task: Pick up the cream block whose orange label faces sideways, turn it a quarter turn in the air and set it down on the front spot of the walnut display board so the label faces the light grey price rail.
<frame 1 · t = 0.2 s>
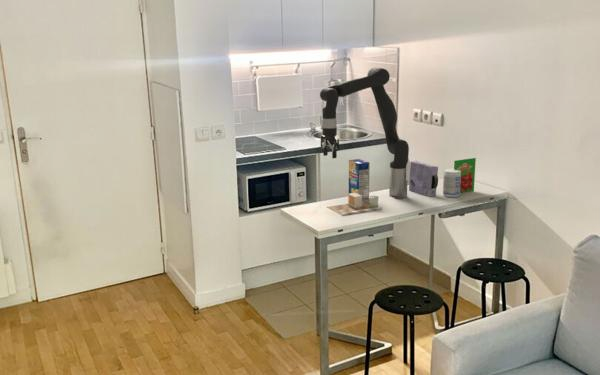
hand: (329, 156, 344), 28 cm above the breakfast bar, tool pointing down, fingers open, 8 cm apart
supplement tub: (451, 195, 371), on the breakfast bar, touching tomato puree packet
cake pan box: (423, 193, 376), on the breakfast bar
cream block: (355, 205, 350), point 1 cm above the breakfast bar, touching display board
display board: (354, 210, 346), on the breakfast bar
beverage box: (358, 199, 366), on the breakfast bar
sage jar: (373, 207, 346), point 1 cm above the breakfast bar, touching display board
tomato puree packet: (463, 193, 375), on the breakfast bar, touching supplement tub
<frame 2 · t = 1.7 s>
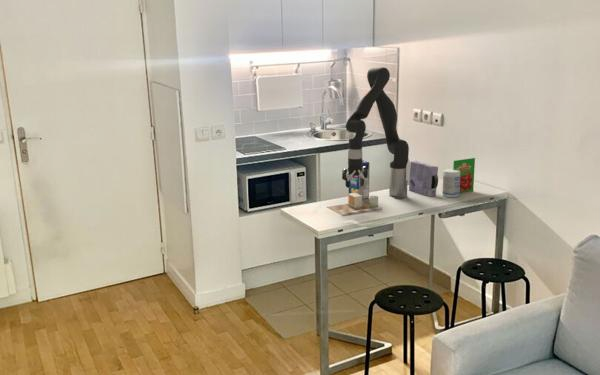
hand: (354, 186, 348), 12 cm above the breakfast bar, tool pointing down, fingers open, 8 cm apart
nothing on the breakfast bar moved.
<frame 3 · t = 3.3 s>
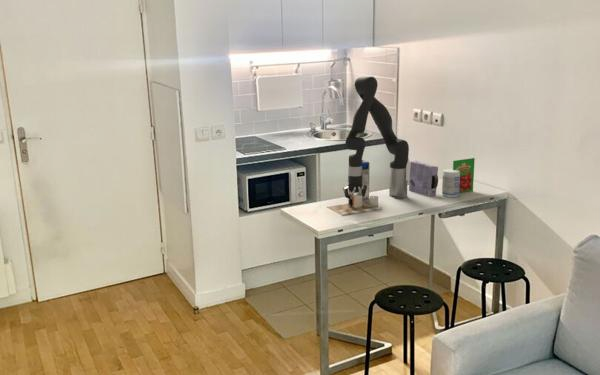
hand: (355, 204, 350), 2 cm above the breakfast bar, tool pointing down, fingers closed on cream block, 4 cm apart
supplement tub: (450, 196, 370), on the breakfast bar, touching tomato puree packet
cream block: (355, 205, 350), point 1 cm above the breakfast bar, touching display board, gripper
everything else where it was.
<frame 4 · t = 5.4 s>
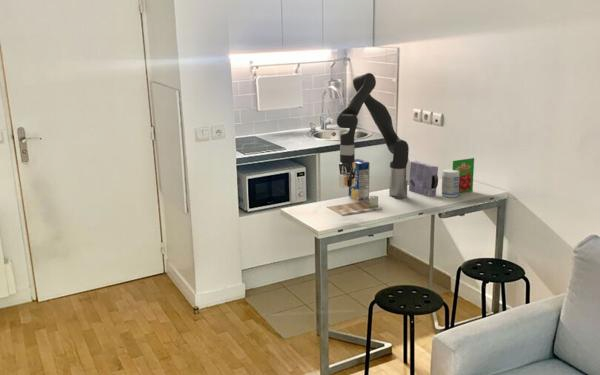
hand: (347, 185, 337), 15 cm above the breakfast bar, tool pointing down, fingers closed on cream block, 4 cm apart
cream block: (347, 186, 337), point 15 cm above the breakfast bar, touching gripper
everything else where it was.
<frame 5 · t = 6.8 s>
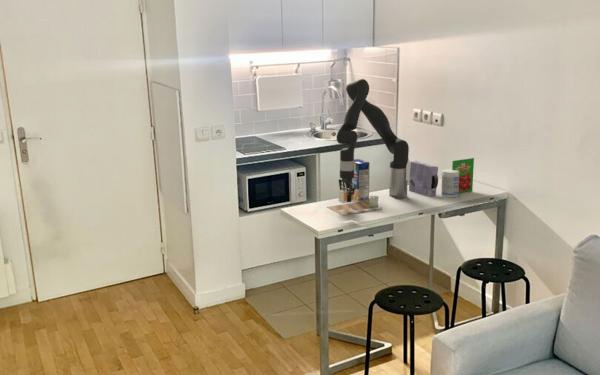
hand: (346, 200, 339), 7 cm above the breakfast bar, tool pointing down, fingers closed on cream block, 4 cm apart
cream block: (346, 201, 339), point 6 cm above the breakfast bar, touching gripper
when the fingers open (3 cm above the breakfast bar, at t = 8.0 s): cream block stays where it is, resting on display board.
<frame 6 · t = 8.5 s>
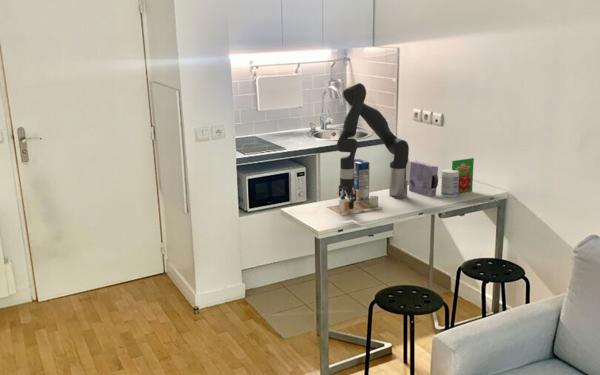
hand: (347, 206, 340), 4 cm above the breakfast bar, tool pointing down, fingers open, 8 cm apart
cream block: (347, 210, 341), point 1 cm above the breakfast bar, touching display board
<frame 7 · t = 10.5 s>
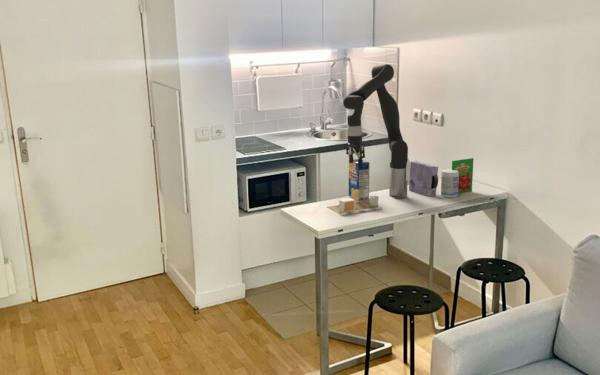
hand: (355, 164, 342), 24 cm above the breakfast bar, tool pointing down, fingers open, 8 cm apart
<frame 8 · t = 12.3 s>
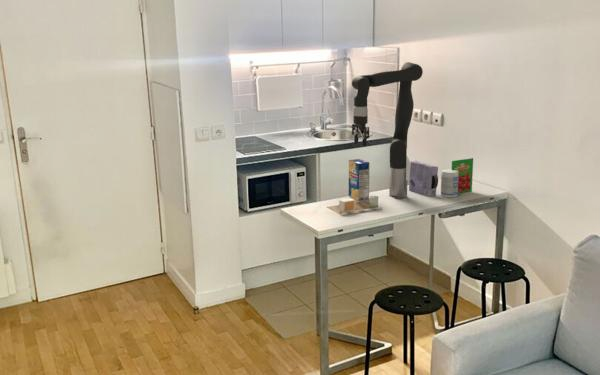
hand: (360, 144, 349), 33 cm above the breakfast bar, tool pointing down, fingers open, 8 cm apart
at the end: cream block inside the target area (0.1 cm from its centre), point 1.3 cm above the breakfast bar; cream block tilted 0°; the gripper is holding nothing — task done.
